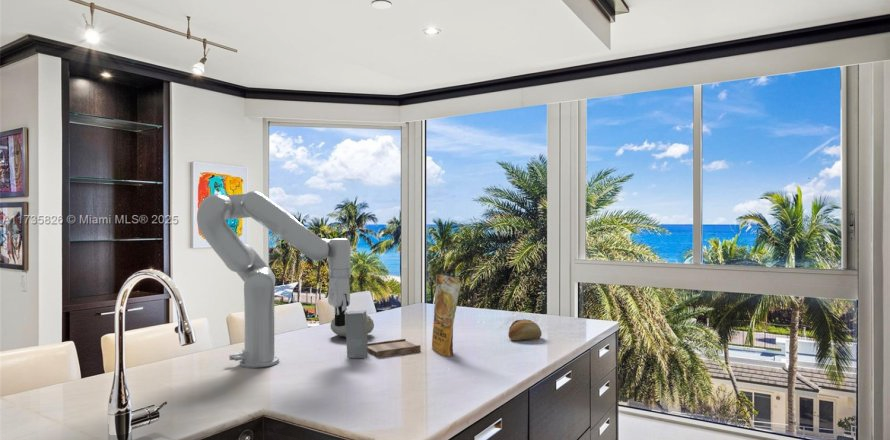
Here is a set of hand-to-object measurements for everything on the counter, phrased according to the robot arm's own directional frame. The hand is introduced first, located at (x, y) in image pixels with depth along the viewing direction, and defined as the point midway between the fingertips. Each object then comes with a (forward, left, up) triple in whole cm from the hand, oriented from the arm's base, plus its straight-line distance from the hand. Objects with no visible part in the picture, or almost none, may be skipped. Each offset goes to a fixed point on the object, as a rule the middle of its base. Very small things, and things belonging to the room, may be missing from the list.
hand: (339, 325), depth 184 cm
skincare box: (+6, 0, -12) cm, 13 cm away
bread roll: (+75, -10, -12) cm, 77 cm away
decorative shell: (+16, +30, -12) cm, 36 cm away
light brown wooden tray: (+20, 0, -11) cm, 23 cm away
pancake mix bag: (+36, -11, -12) cm, 40 cm away
